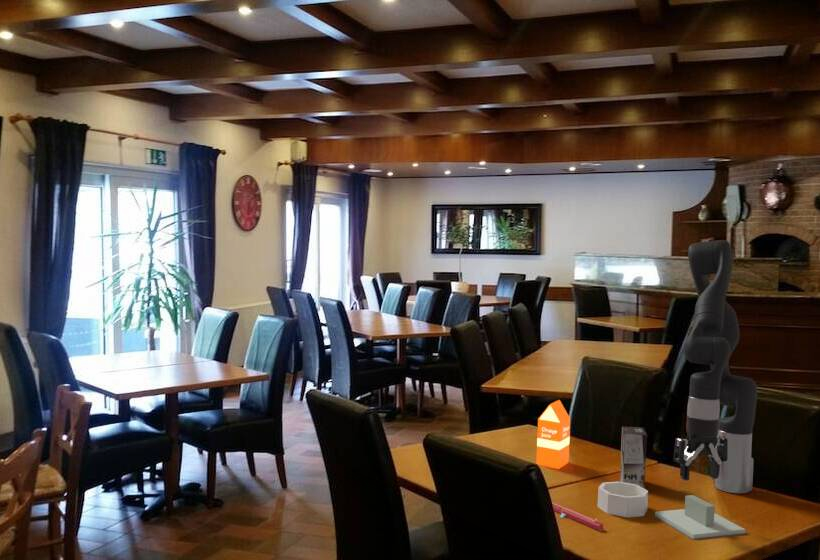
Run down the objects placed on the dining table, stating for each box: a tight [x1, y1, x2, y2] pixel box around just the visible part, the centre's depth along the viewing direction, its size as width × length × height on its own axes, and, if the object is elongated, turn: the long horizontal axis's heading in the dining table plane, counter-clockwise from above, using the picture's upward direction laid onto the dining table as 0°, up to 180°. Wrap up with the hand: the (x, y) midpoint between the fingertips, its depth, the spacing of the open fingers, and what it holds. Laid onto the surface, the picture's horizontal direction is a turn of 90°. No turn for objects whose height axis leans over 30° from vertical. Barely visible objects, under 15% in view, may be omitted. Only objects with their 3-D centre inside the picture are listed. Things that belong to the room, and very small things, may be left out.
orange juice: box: [535, 399, 571, 470], centre depth 231 cm, size 8×9×20 cm
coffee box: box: [619, 426, 648, 489], centre depth 213 cm, size 9×6×16 cm
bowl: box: [597, 481, 649, 518], centre depth 192 cm, size 12×12×6 cm
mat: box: [652, 514, 748, 541], centre depth 182 cm, size 16×16×1 cm
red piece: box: [552, 502, 604, 532], centre depth 187 cm, size 24×2×5 cm
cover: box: [654, 494, 746, 539], centre depth 182 cm, size 15×15×6 cm
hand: (699, 478), depth 182 cm, fingers open, 8 cm apart
